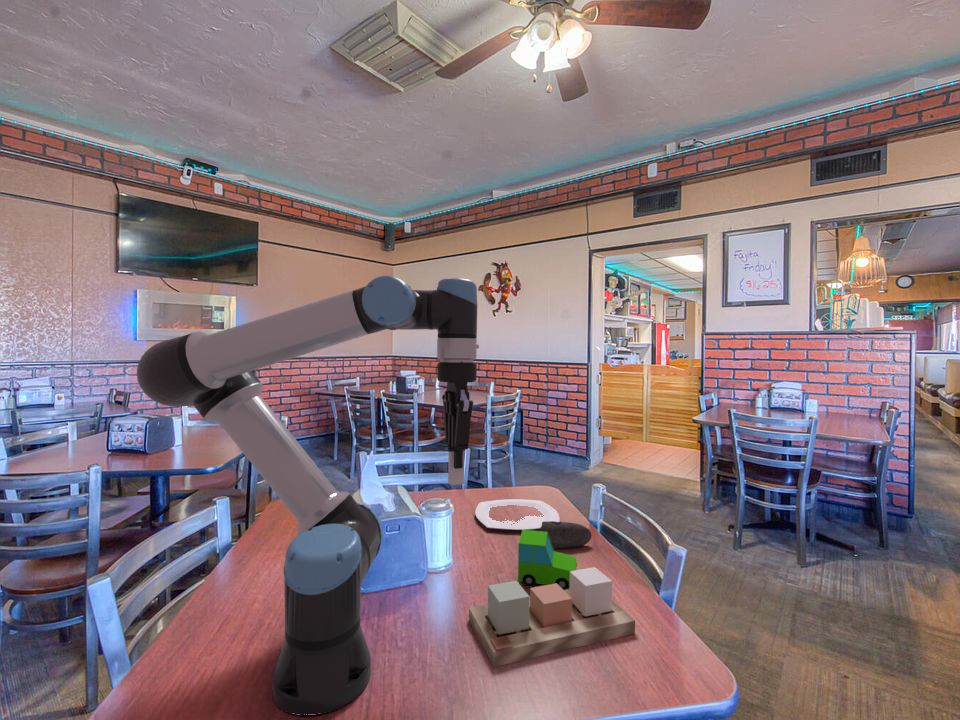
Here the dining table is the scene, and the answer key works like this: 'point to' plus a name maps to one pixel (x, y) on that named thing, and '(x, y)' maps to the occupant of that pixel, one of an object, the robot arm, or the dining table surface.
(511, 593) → the sage button
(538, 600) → the terracotta button
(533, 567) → the toy car
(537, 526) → the plate
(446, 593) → the dining table surface
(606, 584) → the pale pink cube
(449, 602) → the dining table surface
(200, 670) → the dining table surface
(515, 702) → the dining table surface
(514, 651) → the board
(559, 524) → the perforated stone tool
